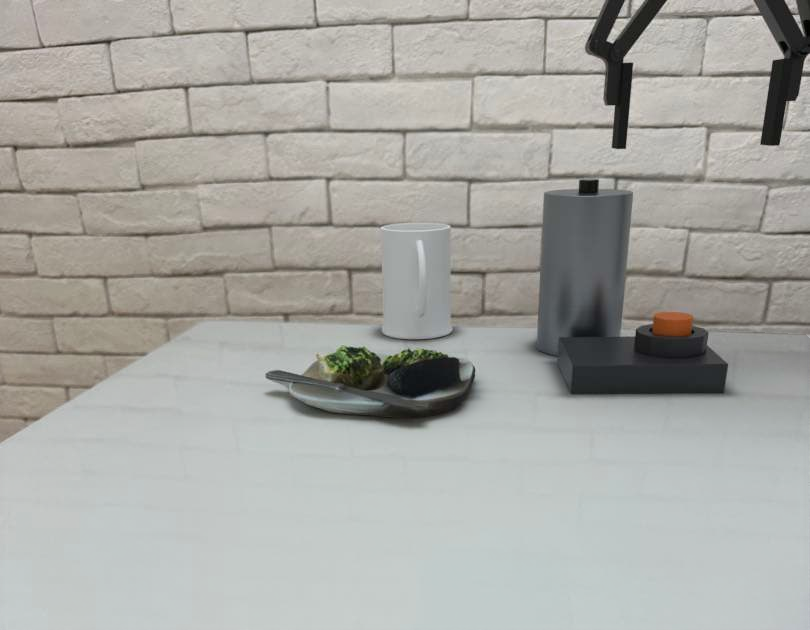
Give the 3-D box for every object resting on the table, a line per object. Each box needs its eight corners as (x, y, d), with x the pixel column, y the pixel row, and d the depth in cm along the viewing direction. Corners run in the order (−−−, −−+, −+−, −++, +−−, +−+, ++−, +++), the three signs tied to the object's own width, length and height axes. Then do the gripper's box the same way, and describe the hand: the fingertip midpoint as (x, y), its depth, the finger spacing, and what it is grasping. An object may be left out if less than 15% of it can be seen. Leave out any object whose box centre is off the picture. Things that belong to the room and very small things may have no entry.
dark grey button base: (693, 361, 88) (699, 317, 86) (724, 392, 79) (731, 344, 77) (557, 363, 89) (559, 319, 87) (570, 394, 79) (574, 345, 77)
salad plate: (235, 419, 75) (230, 366, 73) (299, 365, 90) (296, 321, 88) (455, 429, 71) (455, 375, 69) (482, 371, 87) (482, 325, 85)
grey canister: (611, 337, 99) (625, 175, 91) (626, 357, 91) (642, 181, 83) (533, 338, 99) (540, 177, 91) (540, 358, 91) (549, 183, 83)
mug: (455, 345, 97) (455, 233, 91) (379, 347, 97) (375, 235, 91) (450, 323, 107) (451, 221, 102) (382, 324, 107) (379, 223, 102)
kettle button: (685, 329, 83) (687, 311, 83) (695, 338, 80) (697, 319, 79) (648, 330, 84) (650, 312, 83) (656, 338, 80) (658, 320, 80)
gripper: (574, -173, 62) (557, 151, 72) (920, -187, 61) (856, 145, 71) (562, -145, 69) (547, 148, 78) (873, -157, 68) (820, 142, 77)
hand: (693, 147), depth 75 cm, fingers open, 12 cm apart
